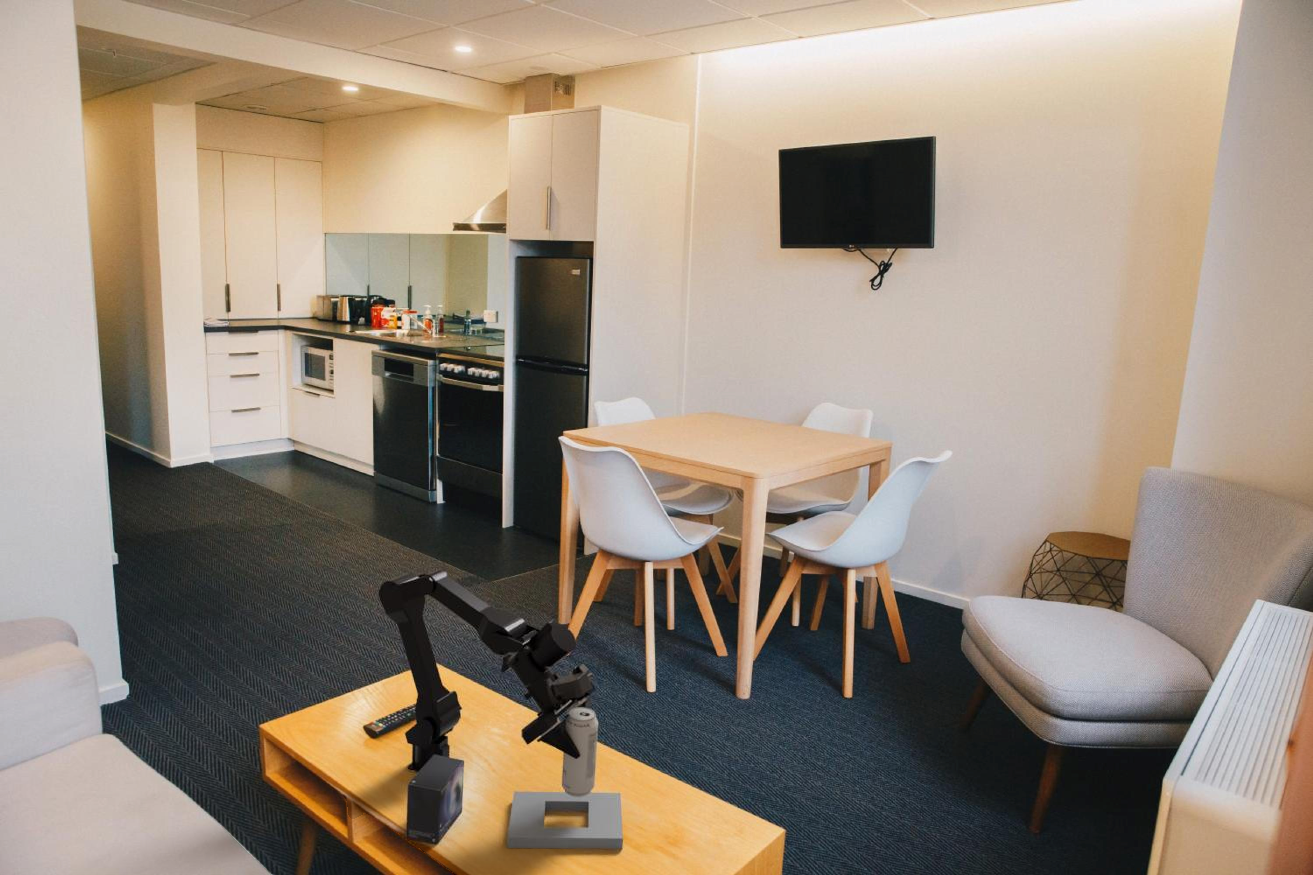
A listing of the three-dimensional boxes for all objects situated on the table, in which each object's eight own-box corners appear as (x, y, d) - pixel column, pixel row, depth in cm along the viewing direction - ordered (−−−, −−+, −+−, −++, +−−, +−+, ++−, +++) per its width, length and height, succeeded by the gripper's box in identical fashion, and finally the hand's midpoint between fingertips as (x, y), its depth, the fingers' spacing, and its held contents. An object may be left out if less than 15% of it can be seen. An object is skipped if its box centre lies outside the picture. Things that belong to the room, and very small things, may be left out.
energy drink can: (567, 777, 165) (571, 703, 162) (598, 783, 163) (602, 708, 161) (556, 794, 159) (561, 718, 156) (588, 801, 158) (593, 723, 155)
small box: (439, 845, 150) (440, 790, 149) (404, 839, 152) (405, 783, 150) (464, 811, 161) (466, 758, 159) (431, 805, 162) (432, 752, 160)
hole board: (506, 847, 151) (507, 837, 151) (513, 800, 165) (514, 791, 164) (622, 848, 153) (623, 838, 152) (619, 802, 166) (620, 792, 166)
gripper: (539, 675, 150) (592, 752, 148) (590, 639, 167) (638, 707, 165) (498, 706, 154) (549, 781, 152) (552, 668, 171) (598, 735, 169)
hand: (586, 749), depth 159 cm, fingers closed on energy drink can, 6 cm apart
